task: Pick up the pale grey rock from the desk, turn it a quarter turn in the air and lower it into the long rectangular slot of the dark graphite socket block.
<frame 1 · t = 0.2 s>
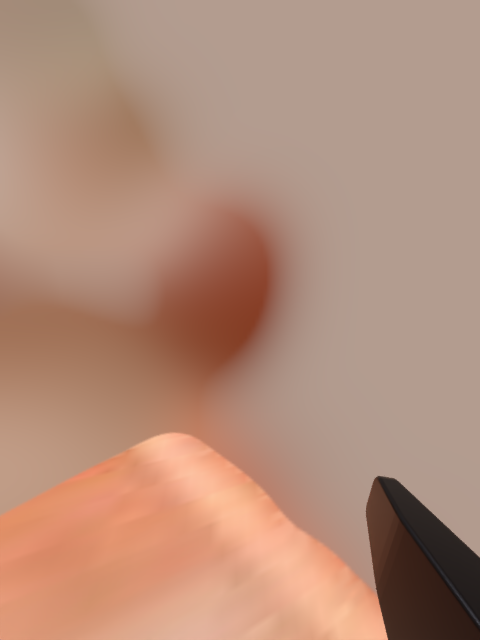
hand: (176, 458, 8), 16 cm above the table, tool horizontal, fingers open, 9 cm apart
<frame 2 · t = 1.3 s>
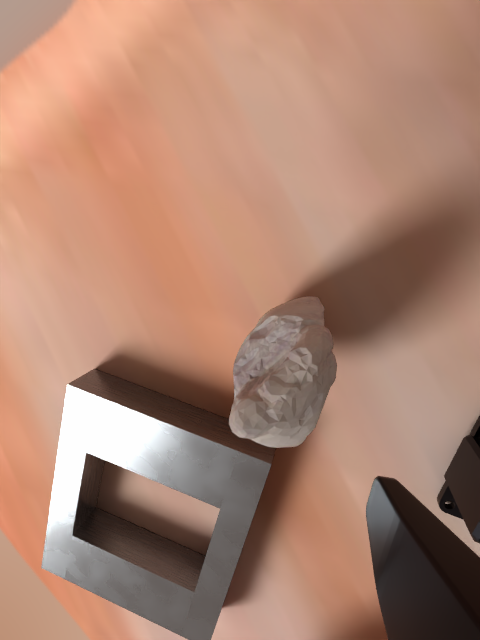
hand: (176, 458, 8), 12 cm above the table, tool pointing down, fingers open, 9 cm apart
socket block: (159, 494, 24), on the table
pale grey rock: (293, 336, 20), on the table
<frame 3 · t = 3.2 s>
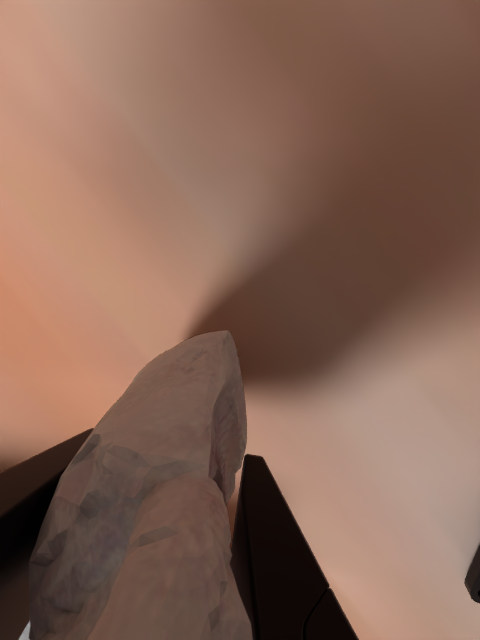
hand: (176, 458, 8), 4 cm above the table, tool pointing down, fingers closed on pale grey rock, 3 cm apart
pale grey rock: (208, 383, 12), on the table, touching gripper
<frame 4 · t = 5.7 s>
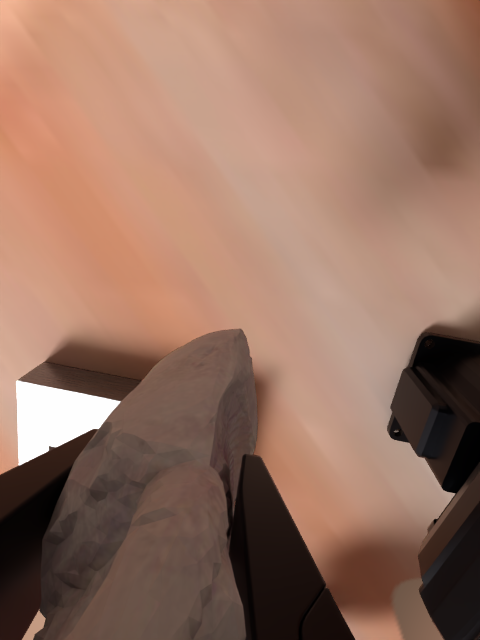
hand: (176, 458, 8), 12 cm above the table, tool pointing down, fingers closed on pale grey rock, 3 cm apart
socket block: (131, 474, 24), on the table
pale grey rock: (221, 381, 12), point 8 cm above the table, touching gripper
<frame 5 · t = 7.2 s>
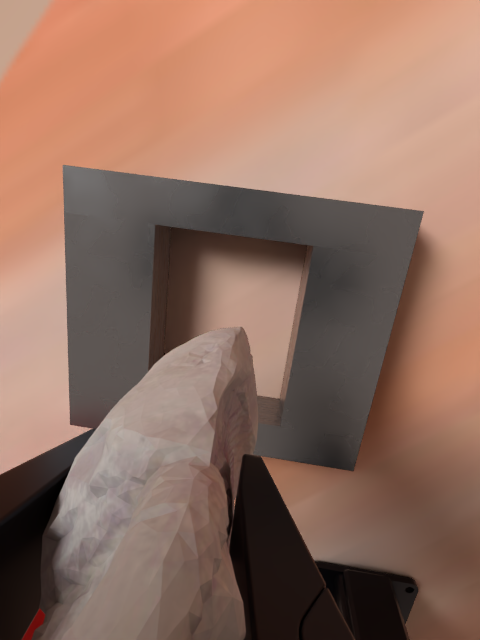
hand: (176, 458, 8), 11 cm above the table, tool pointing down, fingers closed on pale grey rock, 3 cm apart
socket block: (229, 315, 18), on the table
pale grey rock: (222, 379, 12), point 7 cm above the table, touching gripper
when the fingers open (5 cm above the table, at t = 8.3 s): pale grey rock drops 1 cm, resting in socket block.
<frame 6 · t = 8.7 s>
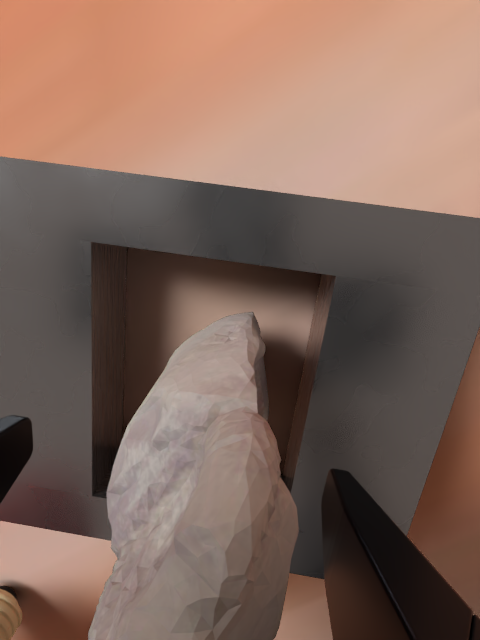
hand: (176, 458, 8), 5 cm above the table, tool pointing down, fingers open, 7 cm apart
light bulb: (10, 587, 18), on the table
socket block: (211, 365, 13), on the table
pale grey rock: (231, 363, 13), resting in socket block
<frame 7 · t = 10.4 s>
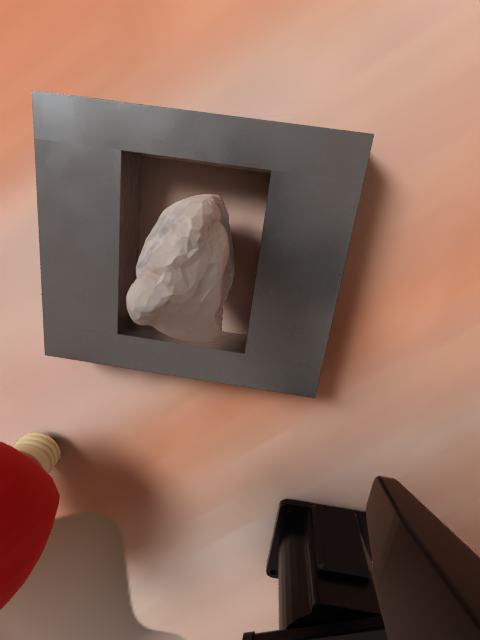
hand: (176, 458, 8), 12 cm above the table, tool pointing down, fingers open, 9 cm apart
light bulb: (49, 439, 24), on the table
socket block: (198, 251, 19), on the table
pale grey rock: (211, 251, 19), resting in socket block
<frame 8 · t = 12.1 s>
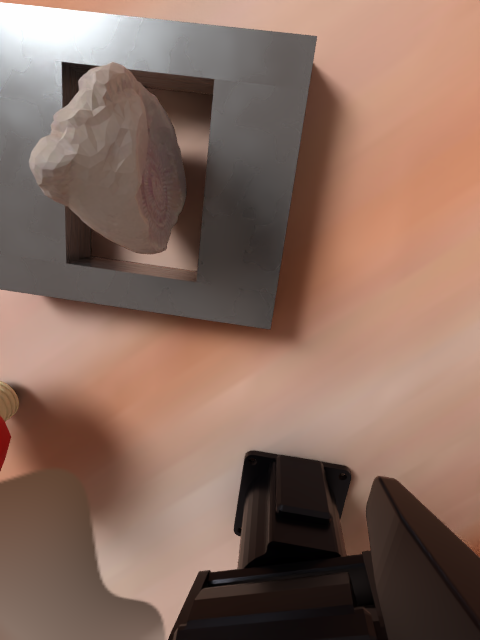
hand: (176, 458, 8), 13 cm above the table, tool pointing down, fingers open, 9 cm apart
light bulb: (9, 391, 24), on the table
socket block: (151, 182, 19), on the table
pale grey rock: (166, 182, 19), resting in socket block
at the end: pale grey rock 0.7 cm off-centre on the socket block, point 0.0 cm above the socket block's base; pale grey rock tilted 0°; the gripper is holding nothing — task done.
